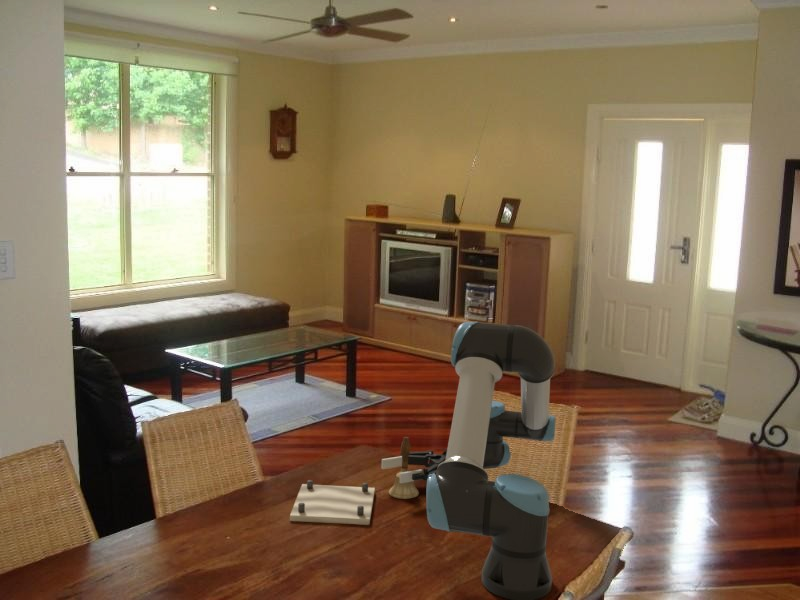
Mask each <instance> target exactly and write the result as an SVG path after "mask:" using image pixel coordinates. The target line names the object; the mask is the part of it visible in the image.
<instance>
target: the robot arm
mask: <svg viewBox="0 0 800 600" xmlns="http://www.w3.org/2000/svg"><path fill="white" fill-rule="evenodd" d="M450 352H451V353H450V362H451V365H452V366H453V367H454V369H455V373H456V374H457V376H458V377H459V379H458V386H457V393H456V397H455V402H454V403H455V404H454V409H453V415H452V420H451V426H450V432H449V438H448V443H447V448H445V449H444V450H443V452H442V453H435V454H434V451H433V450H425V451H410V454H409V457H408V466H425V468H423V469H415V470H409V471H408V472H402V473H400V483H406V482H412V481H413V482H416V481H422V480H423V481H426V493H425V494H426V495H425V496H426V497H425V498H426V499H425V500H426V503H425V504H426V518H427V522H428V524H429V525H430V526H431V528H433V529H437V530H442V531H446V532H448V533H449V532H453V533H454V532H455V533H463V534H468V535H469V534H470V535H476V536H482V537H483V536H485V537H491V547H490V550H489V551H488V554H487V557H486V559H485V561H484V564H483V566H482V570H481V583H482V585H483V587H484V588H486V590H487V591H488V592H490V593H492V594H493V595H495V596H498V597H500V598H504V599H507V600H539V599H542V598H544V597H546V596H547V595H548V594H550V592H551V590H552V583H553V582H552V581H553V579H552V578H553V576H552V572H551V569H550V565H549V561H548V557H547V554H546V551H547V549H546V548H547V538H548V537H547V536H548V520H549V519H548V518H549V514H550V511H551V509H550V495H549V492H548V491H549V490H547V488H546V486H544V485H543V484H542V483H541V482H539V481H538V480H536V479H534V478H532V477H529V476H527V475H522V474H518V473H508V474H507V473H503V474H499V475H498V476H497V477H496V478H495V480H494V481H492V480H489V473H488V471H487V469H496V468H500V467H504V466H505V465H508V464H509V462H510V460H511V456H512V455H511V453H512V452H511V451H510V446H509V443H507V441H505V440H504V439H503V438H512V439H520V440H530V441H538V442H552V441H554V439H555V434H556V422H557V421H556V416H554V415H551V414H550V395H551V393H550V392H551V378H552V377H553V376H554V373H555V368H556V361H555V360H556V359H555V355H554V352H553V351H552V348H551V347H550V345H549V344H548V343H547V341H546V340H545V339H544V338H543V337H542V336H541V335H540V334H539V333H537V331H535V330H533V329H532V328H529V327H526V326H524V325H517V324H513V325H512V324H500V323H489V322H488V323H487V322H481V321H464V322H463V323H461V324H459V326H458V327H457V329H456V331H455V333H454V337H453V340H452V346H451V351H450ZM504 372H508V373H509V372H510V373H512V372H513V373H517V374H518V376H519V378H520V411H515V410H513V411H512V410H506V406H505V404H504V403H503V402H501V401H496V400H493V399H494V398H493V397H494V392H495V384H496V383H498V381H501V379H502V378H503V373H504ZM399 455H400V456H394V457H387V458H381V467H380V468H381V469H382V470H386V469H394V468H398V467H401V468H402V455H401V452H400V454H399Z"/></svg>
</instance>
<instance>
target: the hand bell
mask: <svg viewBox="0 0 800 600" xmlns="http://www.w3.org/2000/svg"><path fill="white" fill-rule="evenodd" d="M409 439H410V438H409V437H408V436H404V437H403V439H402V442H401V445H400V453H401V455H402V467H401V471H399V472H397V473H396V476H395V480H394V484H393V485H392V487H390V489H389V490H388V494H389V495H390V496H391V497H393V498H396V499H400V500H401V499H402V500H408V499H413V498H416V497H418V496H419V494H420V492H419V490H418V489H417V488H416V486H415V483H414V481H412V482H406V483H400V473H402V472H408V469H409V465H408V457H409V454H410V452H411V444H410V443H411V442H410V440H409Z"/></svg>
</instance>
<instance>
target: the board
mask: <svg viewBox="0 0 800 600" xmlns="http://www.w3.org/2000/svg"><path fill="white" fill-rule="evenodd" d="M375 490H376V488H375V487H370V486H369V483H368V482H362V484H361V486H348V485H347V486H346V485H345V486H344V485H331V484H330V485H329V484H328V485H327V484H324V485H323V484H314V481H313V480H312V479H308V480H306V483H302V484H301V486H300V488H299V491H298V493H297V496H296V499H295V501H294V504H293V506H292V509H291V511H290V514H289V521H290V522H304V523H305V522H306V523H308V522H309V523H323V524H324V523H326V524H343V525H347V524H348V525H361V526H363V525H364V526H369V525H370V524H371V523H370V522H371V518H372V517H371V516H372V510H373V506H374V505H373V504H374V498H375V493H376V492H375Z"/></svg>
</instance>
